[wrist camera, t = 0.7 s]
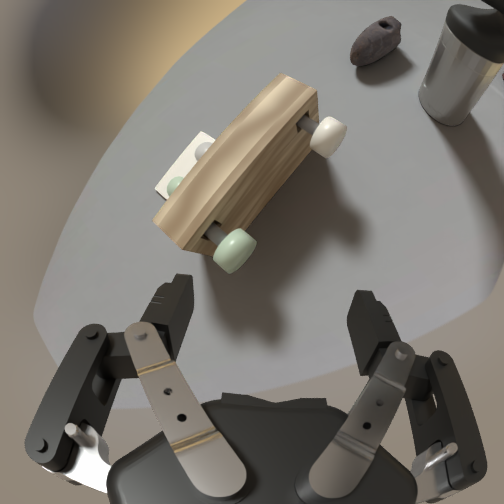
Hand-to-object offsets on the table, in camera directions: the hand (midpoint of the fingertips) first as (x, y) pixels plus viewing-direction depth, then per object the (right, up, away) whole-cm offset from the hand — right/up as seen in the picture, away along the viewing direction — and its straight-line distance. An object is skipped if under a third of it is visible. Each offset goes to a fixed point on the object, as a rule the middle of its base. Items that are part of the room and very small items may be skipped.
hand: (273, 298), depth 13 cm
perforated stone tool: (+21, +38, +23) cm, 49 cm away
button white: (+6, +16, +17) cm, 24 cm away
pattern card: (-10, +15, +28) cm, 33 cm away
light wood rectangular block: (0, +11, +25) cm, 27 cm away
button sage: (-4, +3, +18) cm, 19 cm away
